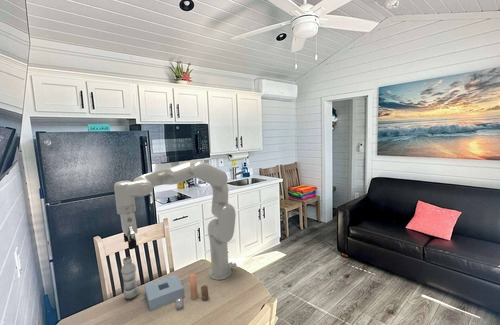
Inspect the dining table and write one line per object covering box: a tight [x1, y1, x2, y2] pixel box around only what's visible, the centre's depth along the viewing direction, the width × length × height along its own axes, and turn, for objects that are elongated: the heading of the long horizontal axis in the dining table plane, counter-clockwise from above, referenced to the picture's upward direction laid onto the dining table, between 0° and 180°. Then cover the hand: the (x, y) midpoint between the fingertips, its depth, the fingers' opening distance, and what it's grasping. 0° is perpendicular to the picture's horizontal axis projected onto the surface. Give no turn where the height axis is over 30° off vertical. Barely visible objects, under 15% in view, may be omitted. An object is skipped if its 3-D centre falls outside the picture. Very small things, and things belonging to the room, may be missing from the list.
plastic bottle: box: [120, 256, 139, 300], centre depth 122 cm, size 6×7×20 cm
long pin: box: [188, 272, 199, 301], centre depth 120 cm, size 3×3×12 cm
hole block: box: [143, 273, 186, 311], centre depth 123 cm, size 16×14×5 cm
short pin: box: [175, 297, 184, 311], centre depth 114 cm, size 3×3×4 cm
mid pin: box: [200, 284, 209, 302], centre depth 119 cm, size 3×3×6 cm
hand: (130, 244), depth 113 cm, fingers open, 9 cm apart
